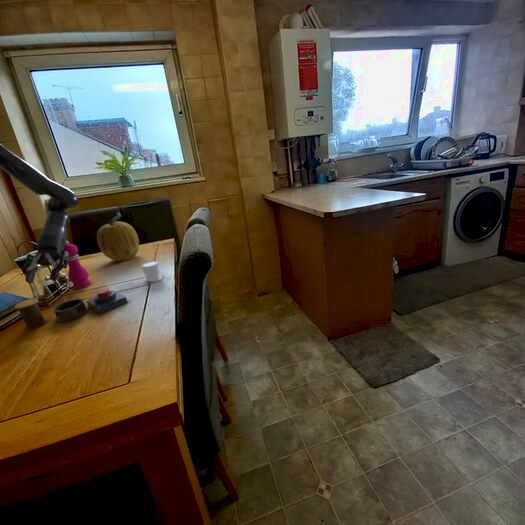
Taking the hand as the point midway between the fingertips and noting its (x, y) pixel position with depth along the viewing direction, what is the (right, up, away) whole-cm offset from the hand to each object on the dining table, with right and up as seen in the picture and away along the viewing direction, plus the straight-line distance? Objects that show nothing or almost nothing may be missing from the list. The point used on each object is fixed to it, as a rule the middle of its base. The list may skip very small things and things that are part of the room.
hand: (41, 281), depth 93 cm
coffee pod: (+1, -14, -3) cm, 14 cm away
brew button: (+20, -5, +3) cm, 21 cm away
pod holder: (+11, -11, 0) cm, 16 cm away
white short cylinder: (+30, -1, +22) cm, 37 cm away
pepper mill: (-2, -4, +25) cm, 26 cm away
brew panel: (+20, -9, +4) cm, 22 cm away
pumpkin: (0, +8, +56) cm, 57 cm away
